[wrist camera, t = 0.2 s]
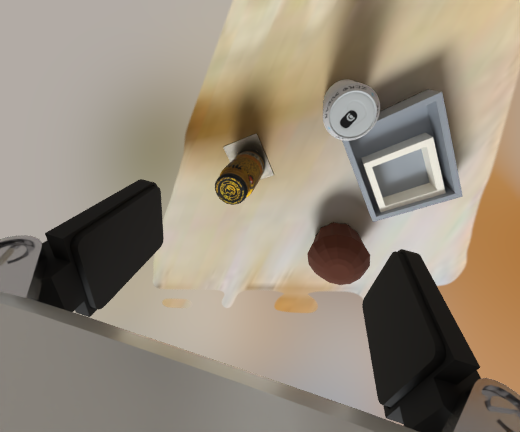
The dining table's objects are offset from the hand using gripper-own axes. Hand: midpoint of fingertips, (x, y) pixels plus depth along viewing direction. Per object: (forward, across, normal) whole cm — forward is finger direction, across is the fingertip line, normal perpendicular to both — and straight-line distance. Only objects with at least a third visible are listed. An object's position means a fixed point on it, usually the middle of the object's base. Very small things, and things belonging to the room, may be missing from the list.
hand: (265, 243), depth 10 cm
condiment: (+37, +9, +10) cm, 39 cm away
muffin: (+37, -12, +23) cm, 45 cm away
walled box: (+36, -16, +3) cm, 40 cm away
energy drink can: (+36, -4, -3) cm, 37 cm away
